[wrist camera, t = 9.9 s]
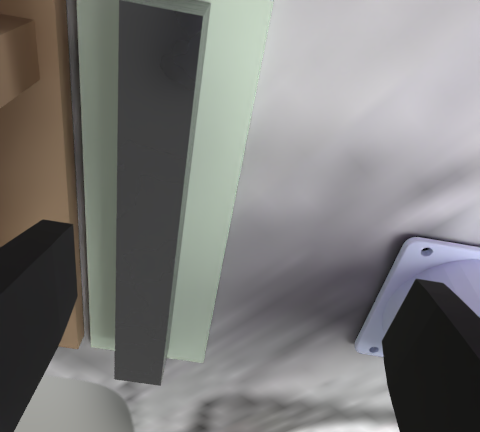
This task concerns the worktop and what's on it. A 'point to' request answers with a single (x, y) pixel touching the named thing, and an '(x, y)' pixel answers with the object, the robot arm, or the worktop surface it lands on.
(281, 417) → the worktop surface
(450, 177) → the worktop surface
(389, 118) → the worktop surface
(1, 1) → the hook stands
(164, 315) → the rail
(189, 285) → the mat
